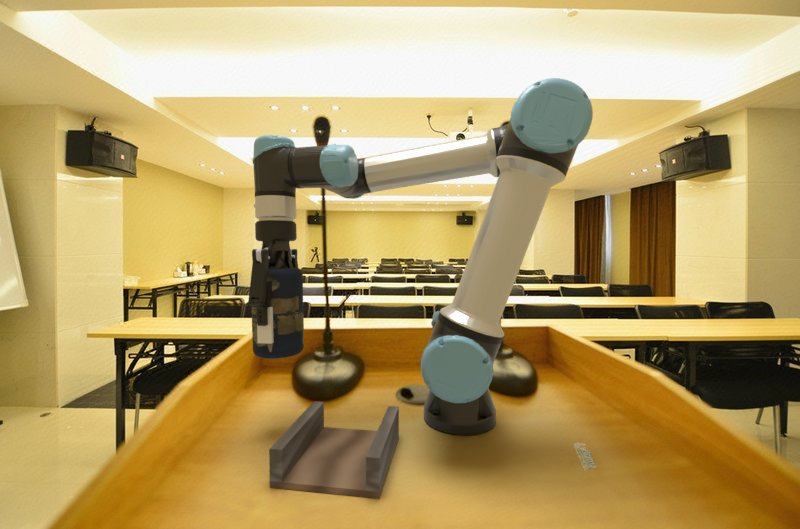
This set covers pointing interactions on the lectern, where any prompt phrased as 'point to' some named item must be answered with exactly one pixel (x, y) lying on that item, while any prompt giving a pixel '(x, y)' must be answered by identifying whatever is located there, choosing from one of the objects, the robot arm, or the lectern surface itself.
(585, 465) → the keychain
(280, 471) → the holder
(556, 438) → the lectern surface
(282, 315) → the canister
